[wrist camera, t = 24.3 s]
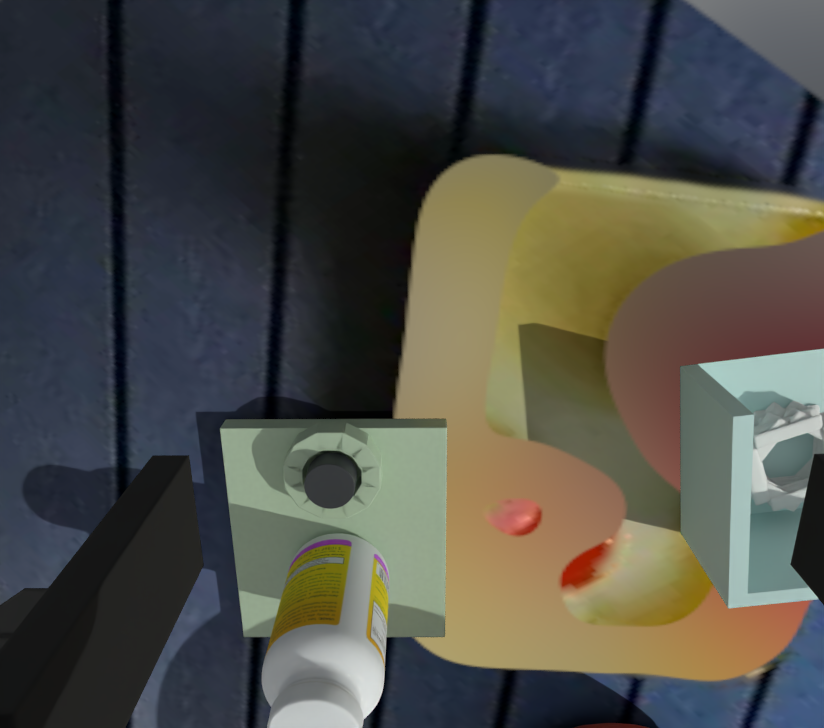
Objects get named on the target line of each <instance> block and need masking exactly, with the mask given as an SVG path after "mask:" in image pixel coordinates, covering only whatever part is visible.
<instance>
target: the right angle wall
mask: <svg viewBox="0 0 824 728" xmlns="http://www.w3.org/2000/svg"><path fill="white" fill-rule="evenodd" d="M680 453H681V454H680V460H681V461H680V465H681V466H680V469H681V470H680V472H681V473H680V474H681V534H682V535H683V537H684V539H685V540H686V542H687V543H688V545H689V547H690V548H691V550H692V551H693V553H694V555H695V556H696V558H697V559H698V561H699V563H700V564H701V566H702V567H703V569H704V571H705V572H706V574H707V575H708V577H709V578H710V580H711V582H712V583H713V585H714V586H715V588H716V590H717V591H718V593H719V594H720V596H721V598H722V599H723V601H724V602H725V604H726V605H727V607H728V608H737V607H746V606H756V605H765V604H766V605H767V604H776V603H786V602H796V601H806V600H816V599H818V597H817V596H816V595H815V594H814V592H813V591H812V590H811V589H810V588H809V586H808V585H807V584H806V583H805V582H804V580H803V579H802V578H801V577H800V576H799V574H798V573H797V572H796V571H795V570H794V568H793V567H792V566H791V565H790V564H791V559H792V555H793V550H794V545H795V541H796V536H797V531H798V527H799V522H800V517H801V513H802V508H803V504H804V499H805V494H806V490H807V485H808V480H809V476H810V471H811V466H812V462H813V457H814V454H824V349H818V350H809V351H801V352H793V353H785V354H777V355H768V356H760V357H752V358H744V359H735V360H727V361H719V362H711V363H703V364H694V365H687V366H680Z"/></svg>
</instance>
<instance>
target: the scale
mask: <svg viewBox="0 0 824 728" xmlns="http://www.w3.org/2000/svg"><path fill="white" fill-rule="evenodd" d="M220 435H221V443H222V452H223V461H224V469H225V478H226V487H227V496H228V504H229V513H230V522H231V530H232V539H233V548H234V556H235V565H236V574H237V583H238V591H239V600H240V609H241V617H242V626H243V635H244V637H271V633H272V630H273V626H274V622H275V619H276V615H277V611H278V608H279V604H280V600H281V597H282V593H283V589H284V586H285V582H286V578H287V575H288V571H289V568H290V565H291V562H292V560H293V558H294V556H295V555H296V553H297V552H298V551H299V549H300V548H301V547H302V546H303V545H305V544H306V543H307V542H309V541H311V540H312V539H314V538H317V537H319V536H322V535H326V534H333V533H343V534H349V535H353V536H356V537H359V538H361V539H363V540H365V541H367V542H369V543H370V544H372V545H373V546H374V547H375V548H376V549H377V550H378V551H379V552H380V553H381V555H382V556H383V558H384V560H385V562H386V564H387V567H388V572H389V602H388V621H387V636H386V637H445V575H446V482H447V422H446V419H226V420H225V421H224V423H223V425H222V426H221V428H220ZM328 452H335V453H339V454H342V455H344V456H346V457H348V458H349V459H350V460H351V461H352V462H353V464H354V465H355V467H356V470H357V480H356V486H355V492H354V495H353V497H352V498H351V500H350V501H349V502H348V503H347V504H345V505H344V506H342V507H339V508H334V509H327V508H322V507H320V506H317V505H316V504H314V503H313V502H312V501H311V500H310V499H309V498H308V497H307V495H306V493H305V489H304V481H305V478H306V475H307V472H308V468H309V466H310V463H311V462H312V461H313V460H314V459H315V458H316V457H317V456H319V455H321V454H324V453H328Z"/></svg>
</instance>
